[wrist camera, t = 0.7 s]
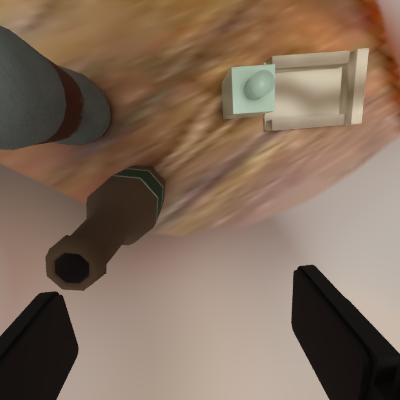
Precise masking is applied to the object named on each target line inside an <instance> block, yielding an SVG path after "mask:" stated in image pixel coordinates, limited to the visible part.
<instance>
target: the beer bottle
mask: <svg viewBox="0 0 400 400" xmlns="http://www.w3.org/2000/svg"><path fill="white" fill-rule="evenodd" d="M164 191H165V181H164V180H163V179H162V177H161V176H160V175H159V174H158V173H157V172H156V171H155V169H154V168H152V167H142V166H131V167H129V168H127V169H125V170H123V171H121V172H119V173H117V174H115V175H113V176H112V177H111V178H109V179H108V180H107V181H106V182H105V183H103V184H102V185H101V186H100V187H99V188H98V189H96V190H95V191H94V192H93V193H92V194H91V195H89V196H88V198H87V219H86V220H85V221H84V223H82V224H81V225H80V227H79V228H78V229H77V230H76V231H75V232H74V233H73V234H72V235H71V236H68V235H66V236H65V237H63V238H62V239H61V240H60V241H59V242H57V243H56V244H55V245H54V246H53V247H52V248H50V249H49V251H48V254H47V255H46V272H47V276H48V277H49V278H50V279H51V280H52V281H53V282H54V283H56V284H57V285H58V286H59V287H60V288H61V289H65V290H82V291H84V290H85V289H86V288H87V287H89V286H90V285H92V284H93V283H94V282H95V281H97V280H98V279H99V278H101V277H102V276H103V275H104V274H106V264H107V263H108V261H109V260H110V259H111V258H112V256H113V255H114V254H115V253H116V251H117V250H118V249H119V248H120V246H121V245H130V244H133V243H134V242H136V241H137V240H138V239H140V238H141V237H142V236H143V235H145V234H146V233H147V232H148V231H150V230H151V229H152V228H153V227H154V225H155V224H156V222H157V219H158V216H159V213H160V211H161V208H162V205H163V202H164Z"/></svg>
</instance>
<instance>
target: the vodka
mask: <svg viewBox="0 0 400 400" xmlns="http://www.w3.org/2000/svg"><path fill="white" fill-rule="evenodd" d="M110 119H111V113H110V107H109V104H108V102H107V99H106V97H105V95H104V94H103V93H102V92H101V90H100V89H99V88H98V87H97V86H96V85H95V84H94V83H93V82H92V81H91V80H89V79H88V78H87V77H85V76H84V75H83V74H80V73H77V72H75V71H72V70H69V69H66V68H63V67H60V66H57V65H55V64H54V63H53V62H51V61H50V60H48V59H47V58H46V57H44V56H43V55H41V54H40V53H39V52H38V51H36V50H35V49H34V48H33V47H31V46H30V45H29V44H28V43H26V42H25V41H24V40H22V39H21V38H20V37H18V36H17V35H16V34H14V33H13V32H12V31H10V30H9V29H6V28H4V27H2V26H0V149H5V150H14V149H19V148H23V147H27V146H31V145H37V144H43V143H49V142H56V143H61V144H67V145H83V144H86V143H89V142H92V141H95V140H97V139H98V138H100V137H101V136H102V135H104V133H105V131H106V130H107V128H108V127H109V124H110Z"/></svg>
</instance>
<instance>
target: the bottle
mask: <svg viewBox="0 0 400 400" xmlns="http://www.w3.org/2000/svg"><path fill="white" fill-rule="evenodd" d="M221 85H222V106H223V119H234V118H247V117H257V116H260V115H263V114H266V113H269V112H273V111H275V64H270V65H256V66H242V67H231V69H230V71H229V72H228V74H227V75H226V77H225V78H224V80H223V82H222V83H221Z"/></svg>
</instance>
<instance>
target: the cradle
mask: <svg viewBox="0 0 400 400" xmlns="http://www.w3.org/2000/svg"><path fill="white" fill-rule="evenodd" d="M368 51H369V48H365V49H357V50H355V51H353V52H351V53H350V51H339V52H325V53H310V54H296V55H282V56H272V57H271V58H270V59H269V60H268V61H267V62H264V65H270V64H275V111H273V112H269V113H266V114H264V131H276V130H288V129H300V128H313V127H325V126H338V125H350V124H361V122H362V112H363V101H364V91H365V81H366V71H367V61H368Z"/></svg>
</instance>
